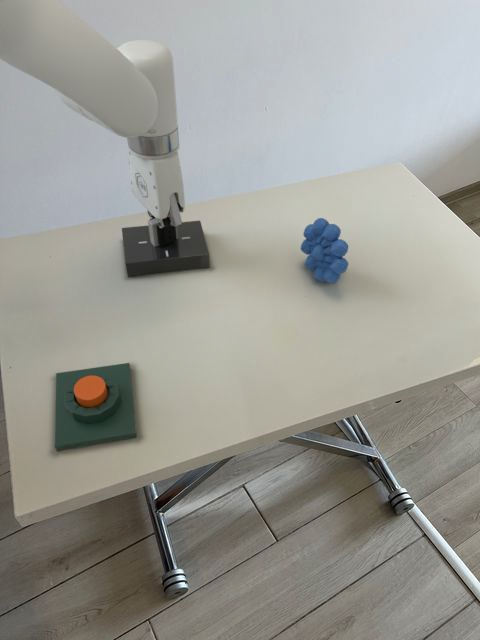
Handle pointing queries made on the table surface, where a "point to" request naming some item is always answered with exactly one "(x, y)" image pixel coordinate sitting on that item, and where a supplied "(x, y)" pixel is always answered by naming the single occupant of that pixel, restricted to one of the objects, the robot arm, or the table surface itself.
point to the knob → (153, 231)
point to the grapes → (324, 251)
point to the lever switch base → (165, 251)
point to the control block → (94, 409)
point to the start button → (90, 391)
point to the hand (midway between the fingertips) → (164, 239)
